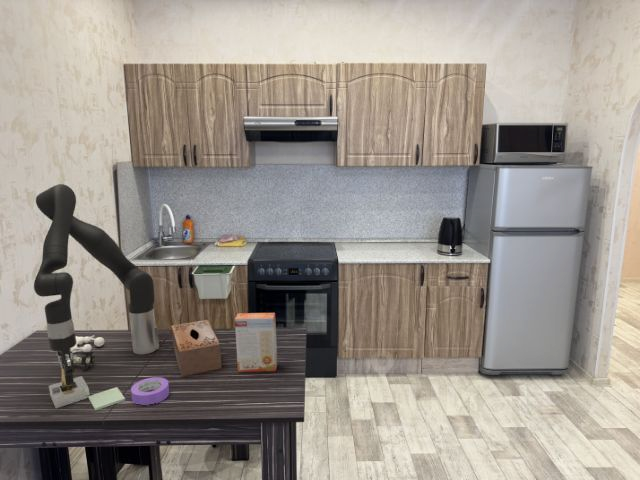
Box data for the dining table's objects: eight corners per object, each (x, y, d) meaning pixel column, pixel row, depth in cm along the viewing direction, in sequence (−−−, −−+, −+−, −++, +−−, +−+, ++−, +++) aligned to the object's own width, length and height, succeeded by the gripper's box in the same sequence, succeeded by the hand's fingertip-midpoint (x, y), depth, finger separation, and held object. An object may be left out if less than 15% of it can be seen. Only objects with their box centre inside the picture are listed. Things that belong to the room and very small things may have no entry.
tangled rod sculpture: (46, 353, 185) (44, 344, 184) (78, 337, 198) (76, 328, 196) (78, 361, 177) (76, 351, 176) (109, 343, 189) (107, 334, 188)
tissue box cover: (221, 369, 168) (220, 344, 166) (181, 377, 162) (179, 351, 160) (208, 341, 191) (207, 319, 189) (173, 348, 185) (171, 325, 183)
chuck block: (83, 385, 157) (81, 374, 156) (89, 397, 150) (88, 386, 149) (50, 395, 151) (48, 384, 150) (55, 408, 144) (53, 396, 143)
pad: (117, 389, 155) (117, 386, 154) (125, 400, 148) (124, 398, 148) (88, 398, 149) (88, 396, 149) (95, 410, 142) (95, 408, 142)
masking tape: (134, 390, 154) (132, 379, 154) (170, 384, 157) (169, 374, 157) (130, 408, 143) (128, 398, 143) (168, 402, 146) (167, 392, 146)
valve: (55, 370, 168) (84, 372, 166) (53, 353, 167) (82, 356, 165) (68, 361, 175) (96, 364, 173) (66, 346, 173) (94, 348, 171)
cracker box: (277, 364, 170) (275, 311, 166) (275, 372, 164) (273, 318, 160) (240, 364, 171) (237, 312, 166) (237, 372, 165) (234, 318, 160)
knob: (60, 390, 150) (59, 354, 148) (73, 388, 152) (73, 353, 150) (60, 396, 147) (59, 359, 145) (74, 393, 149) (73, 357, 147)
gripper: (44, 329, 149) (52, 377, 152) (52, 343, 138) (60, 394, 142) (69, 323, 153) (76, 370, 157) (79, 336, 143) (86, 386, 146)
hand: (68, 381), depth 149 cm, fingers closed on knob, 3 cm apart
